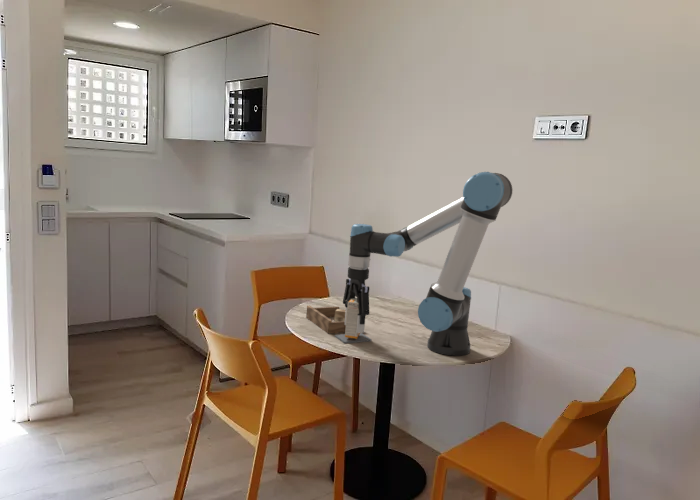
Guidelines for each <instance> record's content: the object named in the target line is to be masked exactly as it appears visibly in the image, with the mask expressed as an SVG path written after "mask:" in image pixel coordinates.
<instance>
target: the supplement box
mask: <svg viewBox="0 0 700 500" xmlns="http://www.w3.org/2000/svg"><path fill="white" fill-rule="evenodd" d="M357 314H359V309H358V302H357V297H355V298H351V299H350V300H349V301H348V306H347V318H346V329H345V332H344V334H345V337H348V338H355V339H357V338H358V336H359V334H360V333H357V332H356V331H357V318H358V315H357Z"/></svg>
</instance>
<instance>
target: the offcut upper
mask: <svg viewBox="0 0 700 500" xmlns="http://www.w3.org/2000/svg"><path fill="white" fill-rule="evenodd" d="M345 310H346V309H341V308H339V309H337V310H335V317H340V318H345ZM335 317H334V318H335Z"/></svg>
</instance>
